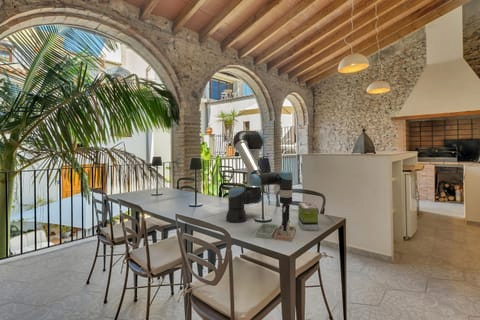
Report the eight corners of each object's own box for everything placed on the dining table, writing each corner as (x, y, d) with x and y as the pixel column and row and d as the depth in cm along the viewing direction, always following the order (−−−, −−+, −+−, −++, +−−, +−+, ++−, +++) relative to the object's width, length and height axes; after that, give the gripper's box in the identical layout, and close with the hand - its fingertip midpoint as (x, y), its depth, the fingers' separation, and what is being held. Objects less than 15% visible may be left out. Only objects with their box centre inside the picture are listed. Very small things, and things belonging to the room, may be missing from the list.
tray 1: (255, 236, 146) (255, 232, 146) (262, 226, 163) (262, 223, 163) (271, 238, 143) (271, 234, 142) (277, 228, 160) (277, 224, 159)
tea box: (297, 222, 171) (297, 202, 171) (312, 222, 171) (312, 202, 170) (302, 230, 156) (302, 207, 156) (318, 230, 156) (318, 207, 155)
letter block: (281, 235, 148) (281, 222, 147) (282, 233, 151) (282, 220, 151) (288, 236, 146) (288, 222, 146) (289, 234, 150) (289, 220, 150)
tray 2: (274, 239, 142) (274, 234, 142) (279, 228, 159) (279, 225, 159) (291, 241, 139) (291, 236, 139) (295, 230, 156) (295, 226, 155)
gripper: (290, 200, 138) (289, 240, 139) (294, 193, 154) (293, 230, 156) (276, 199, 140) (276, 238, 142) (282, 193, 157) (282, 228, 158)
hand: (285, 234), depth 149 cm, fingers open, 5 cm apart
